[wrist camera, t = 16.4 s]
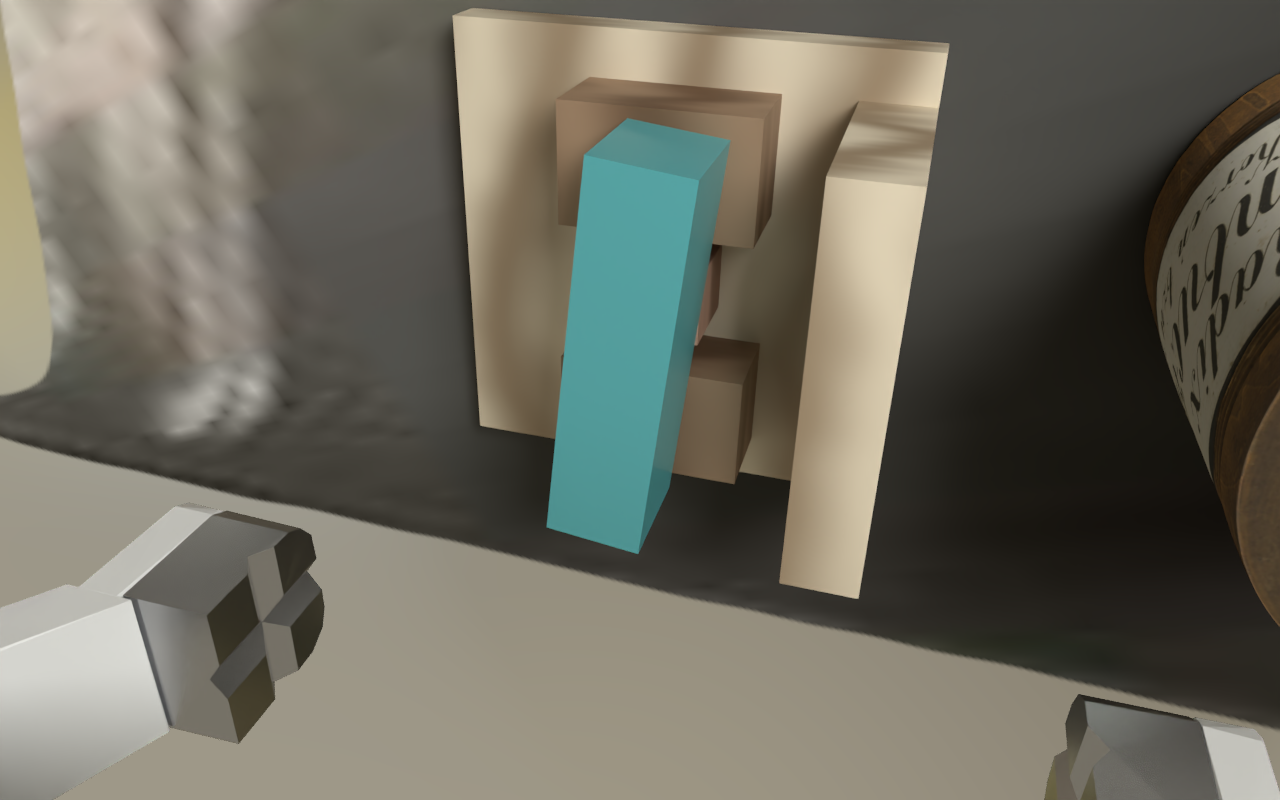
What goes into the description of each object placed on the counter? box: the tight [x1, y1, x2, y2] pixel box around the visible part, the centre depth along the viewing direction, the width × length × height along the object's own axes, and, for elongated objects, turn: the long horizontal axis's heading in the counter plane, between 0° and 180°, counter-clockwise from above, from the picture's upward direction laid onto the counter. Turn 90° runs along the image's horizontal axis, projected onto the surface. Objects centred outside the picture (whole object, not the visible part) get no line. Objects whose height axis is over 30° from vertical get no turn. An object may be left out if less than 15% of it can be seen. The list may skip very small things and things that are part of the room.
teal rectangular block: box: [547, 118, 731, 554], centre depth 40 cm, size 4×16×5 cm, turn 172°
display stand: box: [453, 8, 949, 599], centre depth 42 cm, size 20×20×12 cm
